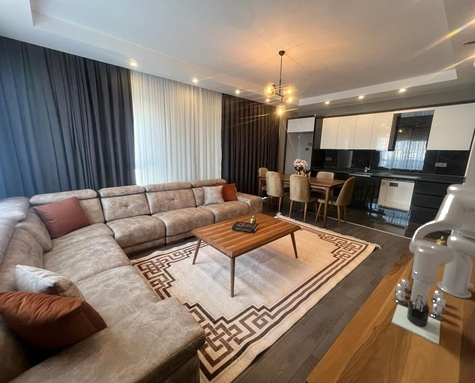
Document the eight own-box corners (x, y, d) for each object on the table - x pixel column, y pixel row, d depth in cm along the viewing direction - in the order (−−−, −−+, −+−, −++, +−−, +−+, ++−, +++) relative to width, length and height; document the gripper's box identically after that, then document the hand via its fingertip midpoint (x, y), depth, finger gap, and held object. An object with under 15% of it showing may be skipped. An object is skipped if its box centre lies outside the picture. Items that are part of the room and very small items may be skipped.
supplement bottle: (421, 317, 92) (425, 293, 90) (430, 329, 86) (435, 304, 83) (403, 313, 94) (407, 290, 92) (410, 325, 88) (414, 300, 86)
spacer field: (397, 285, 115) (398, 275, 114) (446, 303, 101) (448, 292, 100) (391, 300, 103) (392, 290, 102) (445, 323, 89) (447, 311, 88)
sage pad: (397, 305, 100) (397, 304, 100) (440, 322, 90) (440, 321, 89) (391, 322, 90) (391, 321, 90) (438, 344, 79) (438, 343, 79)
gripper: (414, 264, 94) (409, 297, 97) (409, 280, 82) (403, 317, 86) (437, 271, 89) (430, 305, 92) (434, 289, 77) (427, 328, 80)
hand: (417, 311), depth 89 cm, fingers open, 9 cm apart
